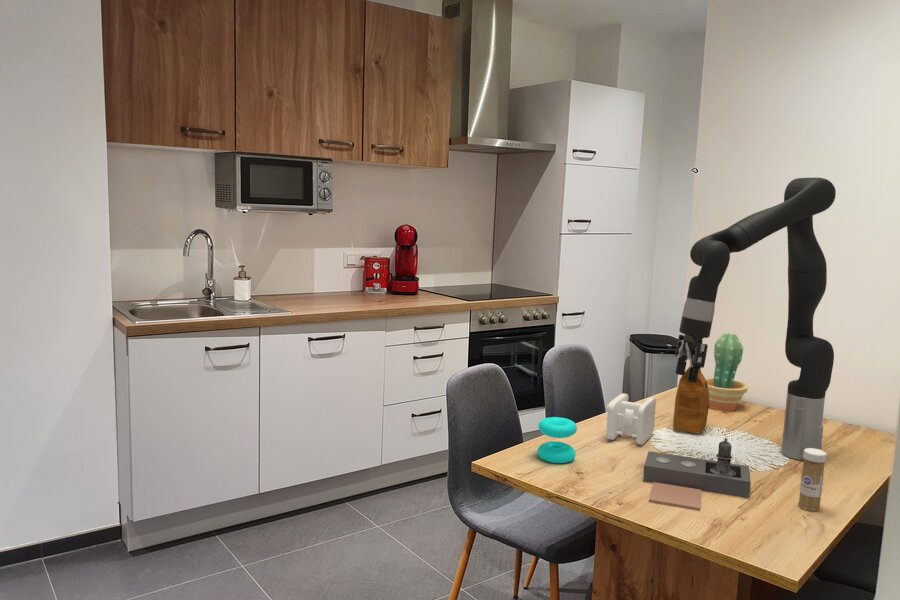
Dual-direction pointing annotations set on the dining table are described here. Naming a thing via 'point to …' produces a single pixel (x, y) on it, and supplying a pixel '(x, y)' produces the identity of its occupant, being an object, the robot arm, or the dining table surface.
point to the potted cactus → (726, 374)
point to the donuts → (554, 449)
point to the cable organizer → (630, 418)
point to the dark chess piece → (723, 460)
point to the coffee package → (691, 404)
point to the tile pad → (675, 496)
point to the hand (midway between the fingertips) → (685, 378)
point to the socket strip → (696, 474)
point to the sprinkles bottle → (812, 479)
